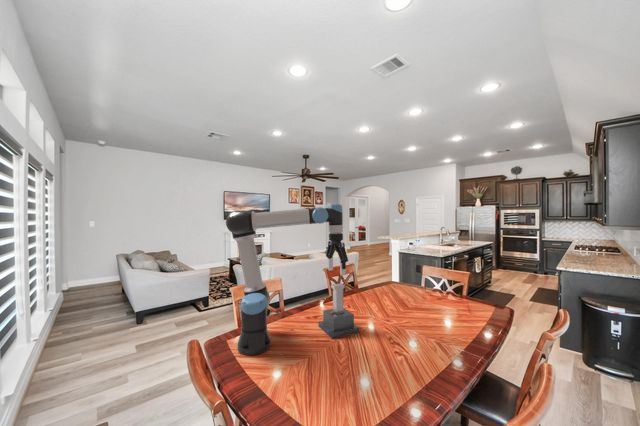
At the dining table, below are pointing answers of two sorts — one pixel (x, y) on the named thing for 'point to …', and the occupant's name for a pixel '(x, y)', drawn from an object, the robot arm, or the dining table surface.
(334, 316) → the stand base
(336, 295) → the column
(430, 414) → the dining table surface
